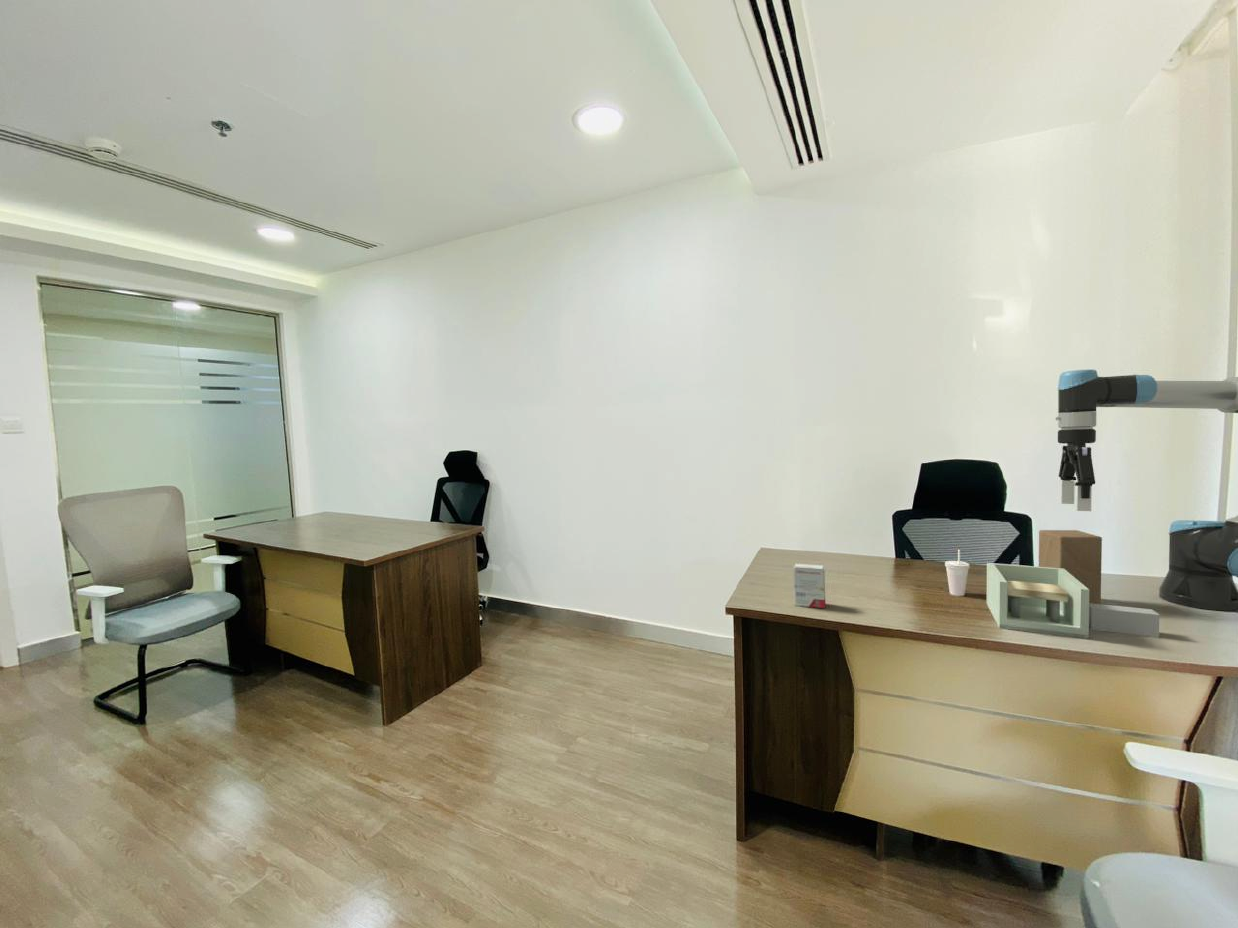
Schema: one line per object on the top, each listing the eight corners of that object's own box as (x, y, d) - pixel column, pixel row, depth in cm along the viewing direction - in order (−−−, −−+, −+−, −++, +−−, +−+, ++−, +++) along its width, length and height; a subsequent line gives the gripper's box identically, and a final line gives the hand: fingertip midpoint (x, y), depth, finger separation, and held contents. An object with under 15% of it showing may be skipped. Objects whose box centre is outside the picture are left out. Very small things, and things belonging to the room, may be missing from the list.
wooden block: (1101, 608, 137) (1102, 536, 136) (1059, 607, 139) (1060, 536, 138) (1076, 596, 147) (1077, 529, 146) (1037, 595, 149) (1038, 529, 148)
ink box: (825, 603, 148) (825, 564, 148) (825, 608, 144) (824, 569, 143) (795, 600, 152) (794, 562, 151) (793, 605, 147) (793, 566, 147)
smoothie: (962, 598, 148) (962, 552, 147) (940, 593, 154) (940, 548, 153) (974, 594, 151) (974, 549, 150) (952, 589, 157) (952, 545, 156)
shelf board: (1058, 592, 130) (1058, 584, 130) (1067, 601, 124) (1067, 593, 123) (1001, 587, 136) (1001, 579, 136) (1007, 595, 129) (1007, 588, 129)
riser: (1151, 631, 121) (1151, 609, 121) (1158, 637, 117) (1159, 614, 117) (1085, 623, 127) (1086, 602, 126) (1091, 629, 123) (1091, 607, 123)
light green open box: (1063, 611, 135) (1063, 568, 135) (1088, 639, 118) (1089, 589, 117) (986, 603, 143) (986, 562, 143) (999, 627, 126) (999, 581, 125)
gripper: (1045, 428, 145) (1044, 500, 147) (1072, 429, 124) (1071, 513, 125) (1079, 427, 142) (1078, 501, 143) (1113, 428, 120) (1111, 514, 121)
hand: (1075, 507), depth 134 cm, fingers open, 13 cm apart
